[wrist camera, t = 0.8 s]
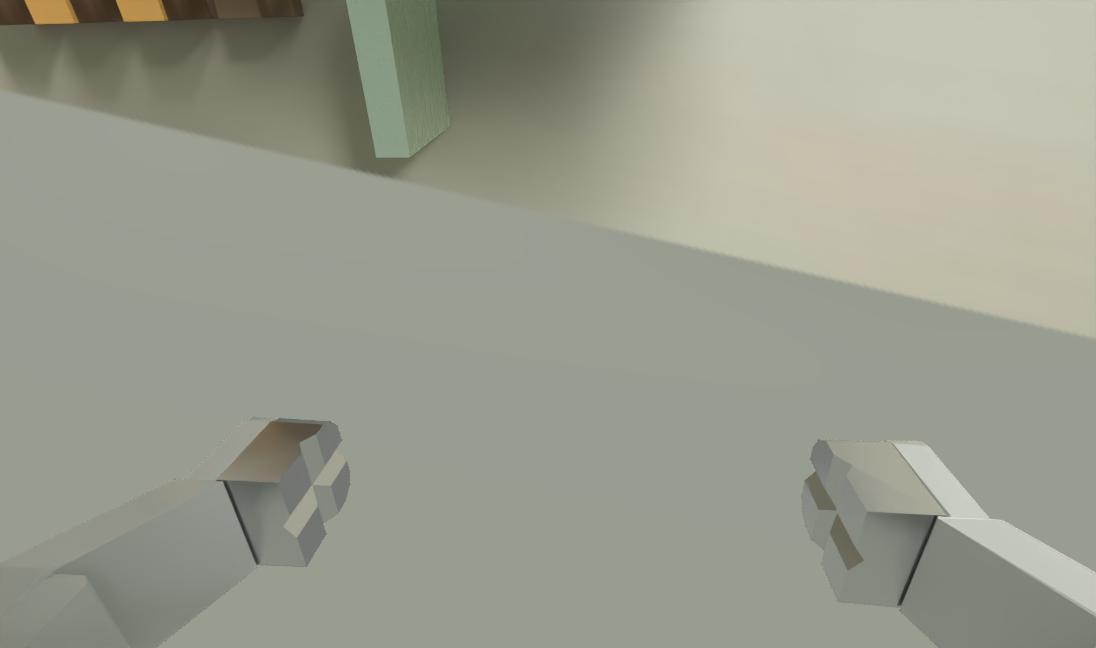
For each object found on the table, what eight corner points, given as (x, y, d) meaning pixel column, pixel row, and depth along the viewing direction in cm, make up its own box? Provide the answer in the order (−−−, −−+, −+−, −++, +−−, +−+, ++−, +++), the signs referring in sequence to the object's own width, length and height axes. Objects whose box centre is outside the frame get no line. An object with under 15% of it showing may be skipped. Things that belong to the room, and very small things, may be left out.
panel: (393, -85, 31) (324, -112, 24) (425, -86, 31) (366, -114, 24) (422, 126, 38) (376, 157, 30) (450, 125, 38) (410, 157, 30)
